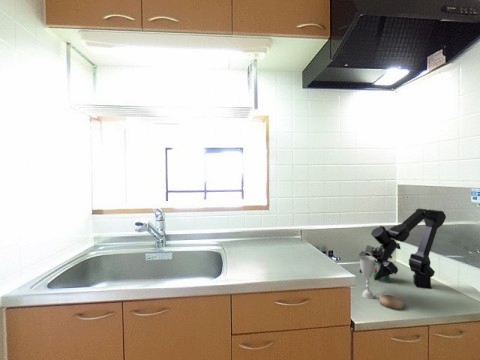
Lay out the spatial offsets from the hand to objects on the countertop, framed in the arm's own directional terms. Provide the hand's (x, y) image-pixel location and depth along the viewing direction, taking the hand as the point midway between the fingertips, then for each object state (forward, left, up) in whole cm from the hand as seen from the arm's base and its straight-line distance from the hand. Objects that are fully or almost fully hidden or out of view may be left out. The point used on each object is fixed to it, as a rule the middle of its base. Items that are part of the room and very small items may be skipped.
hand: (367, 276), depth 124 cm
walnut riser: (-9, +5, -10) cm, 14 cm away
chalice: (0, 0, -10) cm, 10 cm away
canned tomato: (-9, -23, -10) cm, 26 cm away
